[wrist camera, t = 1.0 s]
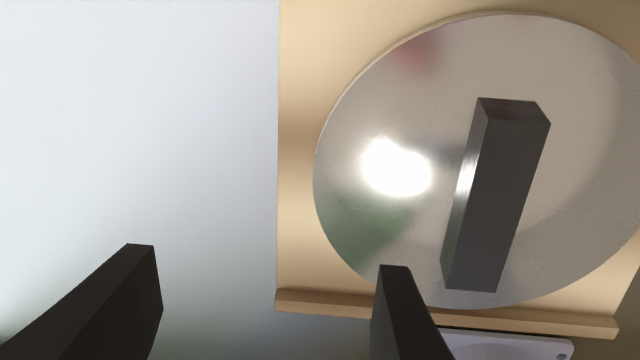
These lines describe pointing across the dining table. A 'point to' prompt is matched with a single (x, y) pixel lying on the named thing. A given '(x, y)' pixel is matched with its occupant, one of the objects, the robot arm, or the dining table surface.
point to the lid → (484, 158)
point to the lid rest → (310, 114)
